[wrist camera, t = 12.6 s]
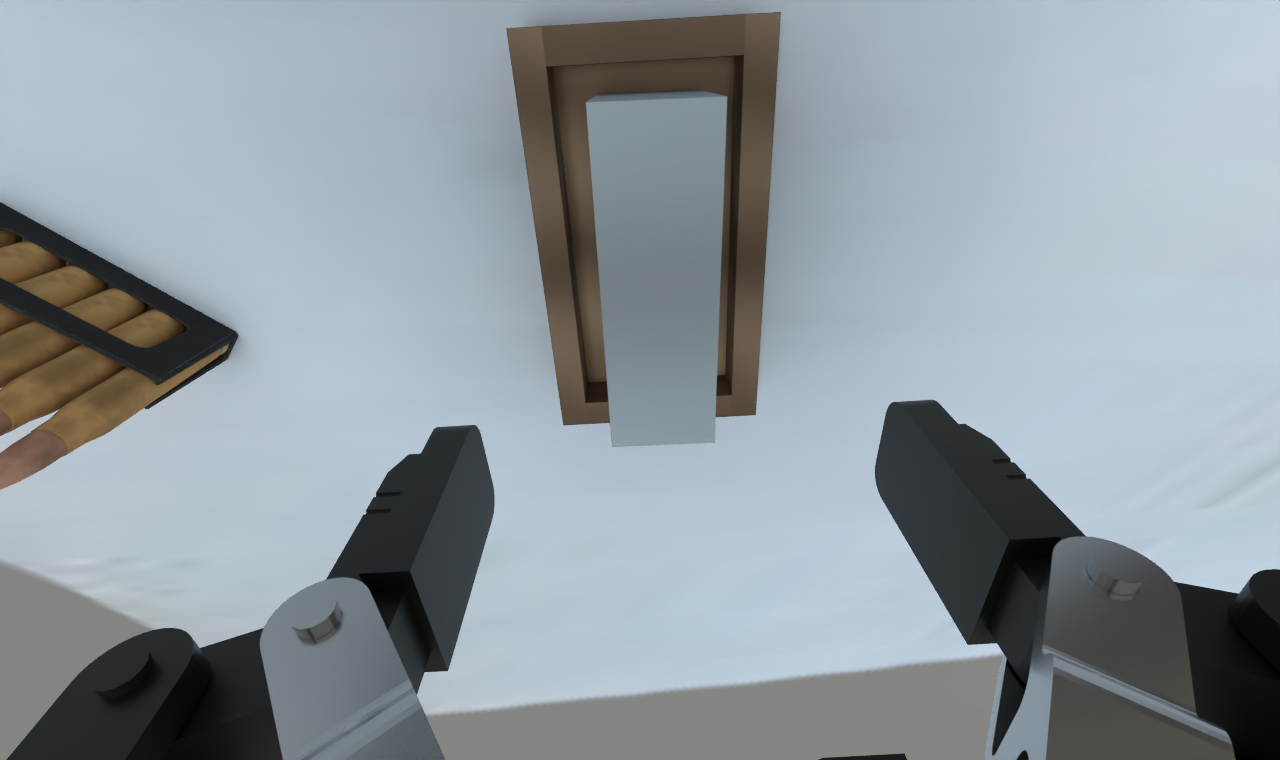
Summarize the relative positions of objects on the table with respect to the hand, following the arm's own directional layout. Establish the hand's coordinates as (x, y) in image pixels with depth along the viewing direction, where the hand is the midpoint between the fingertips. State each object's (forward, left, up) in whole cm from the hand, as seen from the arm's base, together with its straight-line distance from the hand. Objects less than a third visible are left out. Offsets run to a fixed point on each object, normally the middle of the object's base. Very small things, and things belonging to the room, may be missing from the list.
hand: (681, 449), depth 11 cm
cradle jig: (0, 0, -17) cm, 17 cm away
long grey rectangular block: (0, 0, -16) cm, 16 cm away
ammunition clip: (+1, -26, -17) cm, 31 cm away
